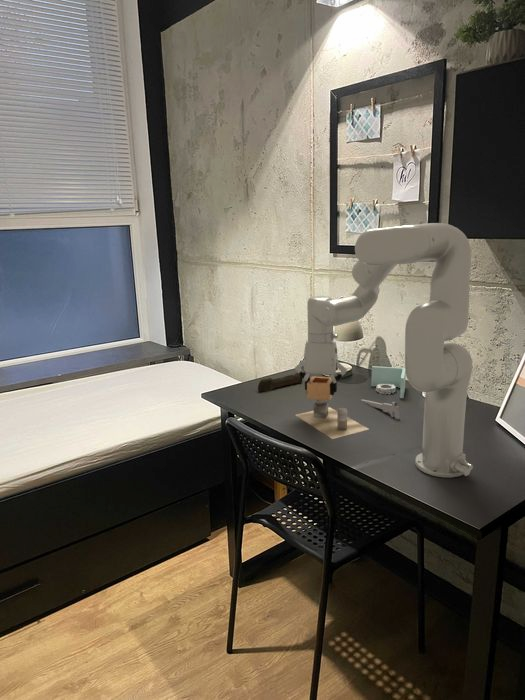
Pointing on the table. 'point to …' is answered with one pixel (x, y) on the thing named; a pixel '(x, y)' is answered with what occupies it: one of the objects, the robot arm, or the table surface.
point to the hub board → (331, 420)
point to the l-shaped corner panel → (388, 379)
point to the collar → (319, 388)
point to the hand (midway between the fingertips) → (320, 392)
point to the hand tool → (278, 382)
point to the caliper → (386, 408)
